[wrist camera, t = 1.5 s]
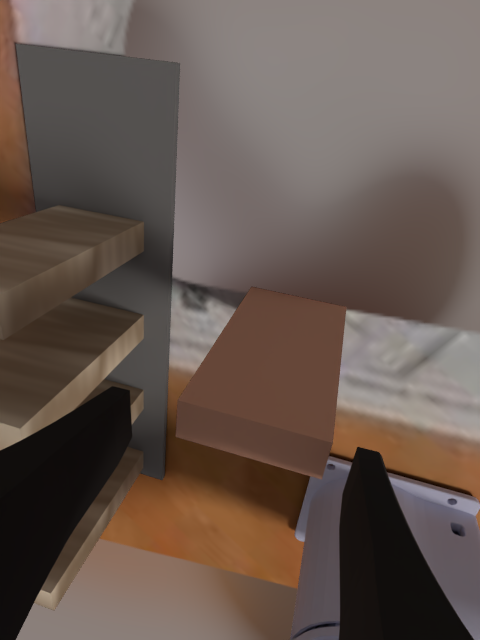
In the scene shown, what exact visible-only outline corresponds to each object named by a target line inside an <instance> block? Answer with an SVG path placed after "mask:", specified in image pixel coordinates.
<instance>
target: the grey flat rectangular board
mask: <svg viewBox="0 0 480 640" xmlns="http://www.w3.org/2000/svg"><path fill="white" fill-rule="evenodd" d="M16 50H17V58H18V67H19V75H20V83H21V91H22V99H23V108H24V116H25V124H26V132H27V141H28V149H29V157H30V165H31V173H32V182H33V190H34V198H35V206H36V212H38V211H42V210H45V209H48V208H51V207H55V206H58V205H61V206H66V207H71V208H76V209H81V210H86V211H92V212H97V213H102V214H107V215H112V216H117V217H122V218H128V219H133V220H138V221H143V222H144V251H143V252H142V253H140V254H138V255H137V256H135V257H134V258H132V259H131V260H129V261H127V262H126V263H124V264H123V265H121V266H120V267H118V268H116V269H115V270H113V271H112V272H110V273H108V274H107V275H105V276H104V277H102V278H101V279H99V280H97V281H96V282H94V283H93V284H91V285H90V286H88V287H86V288H85V289H83V290H82V291H80V292H79V293H77V294H75V295H74V296H72V297H71V298H75V299H79V300H83V301H87V302H92V303H96V304H100V305H104V306H108V307H112V308H117V309H121V310H125V311H129V312H133V313H138V314H142V315H144V339H143V340H142V341H141V342H140V343H139V344H138V345H137V346H136V347H135V348H134V349H133V350H132V351H131V352H130V353H129V354H128V355H127V356H126V357H125V358H124V359H123V360H122V361H121V362H120V363H119V364H118V365H117V366H116V367H115V368H114V369H113V370H112V371H111V372H110V373H109V374H108V376H107V377H106V378H105V380H109V381H113V382H116V383H120V384H124V385H127V386H131V387H135V388H138V389H142V390H144V409H143V410H142V412H141V413H140V414H139V416H138V417H137V419H136V420H135V421H134V423H133V424H132V439H131V441H130V443H129V445H128V447H130V448H133V449H136V450H140V451H143V469H142V471H141V472H140V473H141V474H144V475H147V476H151V477H154V478H157V479H160V480H163V478H164V476H165V451H166V424H167V398H168V371H169V344H170V317H171V290H172V263H173V237H174V236H173V235H174V209H175V182H176V181H175V180H176V156H177V130H178V103H179V74H180V63H175V62H166V61H157V60H150V59H142V58H132V57H125V56H116V55H108V54H99V53H91V52H82V51H74V50H65V49H57V48H48V47H40V46H31V45H23V44H16Z"/></svg>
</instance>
